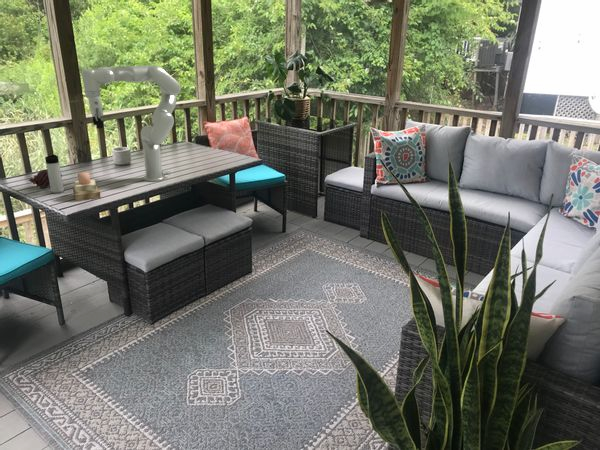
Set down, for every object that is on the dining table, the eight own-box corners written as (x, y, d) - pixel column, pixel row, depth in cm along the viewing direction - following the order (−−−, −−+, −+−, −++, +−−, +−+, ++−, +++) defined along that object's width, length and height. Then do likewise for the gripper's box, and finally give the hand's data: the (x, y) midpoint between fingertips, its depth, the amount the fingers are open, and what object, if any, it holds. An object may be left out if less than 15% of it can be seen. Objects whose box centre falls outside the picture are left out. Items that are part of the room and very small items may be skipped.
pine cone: (59, 181, 281) (57, 164, 277) (67, 185, 275) (65, 168, 271) (27, 188, 268) (24, 170, 264) (35, 192, 262) (32, 174, 258)
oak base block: (97, 192, 266) (96, 185, 264) (100, 199, 256) (99, 191, 255) (73, 195, 260) (72, 188, 259) (76, 202, 251) (75, 194, 249)
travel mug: (66, 190, 267) (60, 154, 259) (61, 193, 261) (54, 157, 253) (54, 189, 266) (48, 154, 259) (49, 193, 260) (42, 157, 253)
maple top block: (95, 186, 263) (94, 179, 261) (96, 191, 255) (95, 184, 253) (75, 188, 259) (74, 181, 258) (76, 193, 251) (74, 186, 249)
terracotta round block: (89, 180, 259) (88, 171, 257) (91, 183, 254) (90, 174, 252) (78, 182, 256) (76, 173, 254) (79, 184, 252) (78, 175, 250)
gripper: (103, 95, 250) (109, 128, 257) (97, 91, 263) (102, 122, 270) (88, 96, 246) (94, 130, 253) (82, 92, 260) (88, 124, 267)
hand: (98, 126), depth 262 cm, fingers open, 9 cm apart
